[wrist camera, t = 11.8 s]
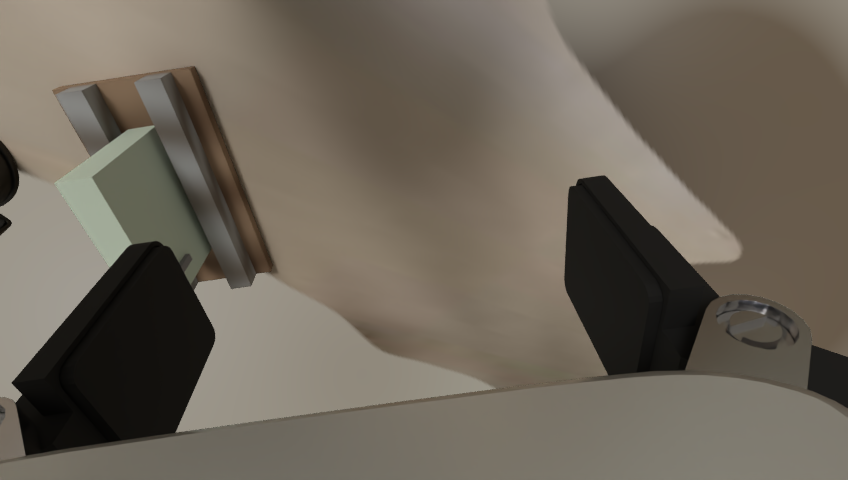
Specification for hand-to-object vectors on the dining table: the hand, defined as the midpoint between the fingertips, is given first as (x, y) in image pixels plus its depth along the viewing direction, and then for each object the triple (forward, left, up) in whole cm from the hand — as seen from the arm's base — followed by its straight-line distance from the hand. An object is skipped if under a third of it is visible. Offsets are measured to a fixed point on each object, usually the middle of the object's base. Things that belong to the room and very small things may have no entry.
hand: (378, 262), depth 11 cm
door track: (+10, -21, -30) cm, 38 cm away
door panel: (+10, -21, -29) cm, 37 cm away
